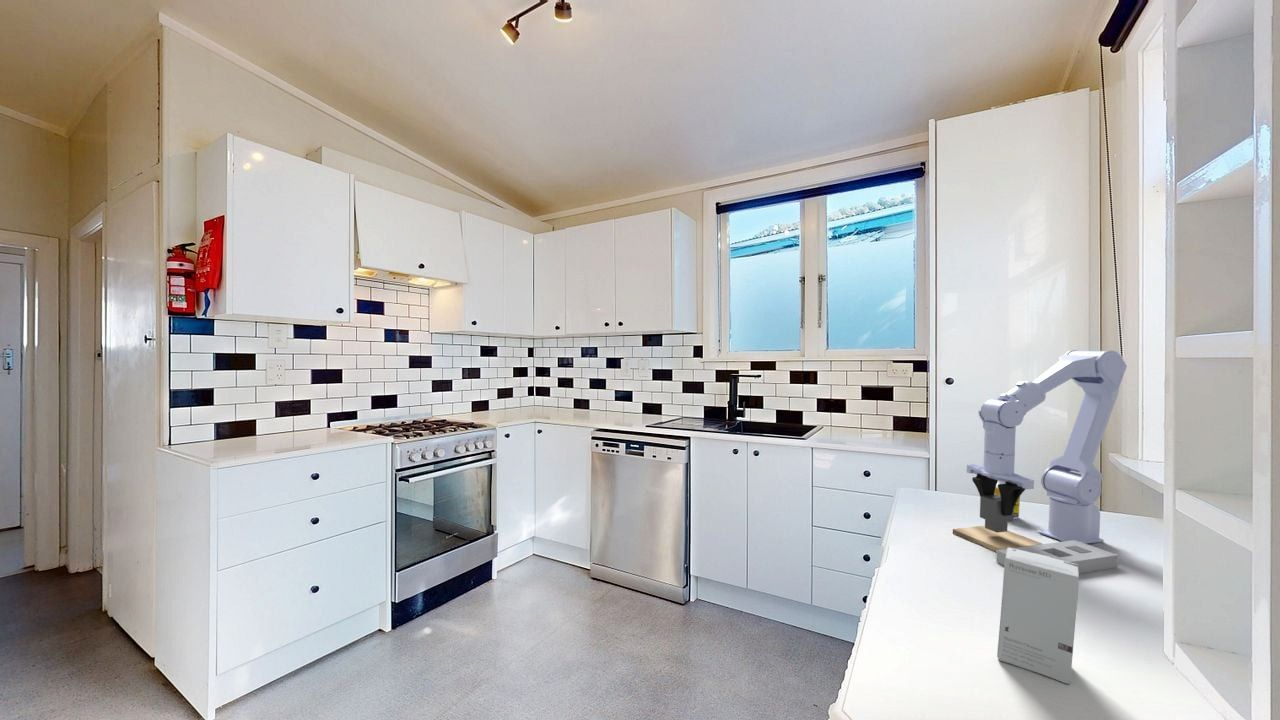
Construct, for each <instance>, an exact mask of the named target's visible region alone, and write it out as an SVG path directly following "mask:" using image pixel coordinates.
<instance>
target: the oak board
mask: <svg viewBox="0 0 1280 720" xmlns="http://www.w3.org/2000/svg"><path fill="white" fill-rule="evenodd" d="M952 534H954V535H955V534H956V536H958V537H961V538H963V539H965V540H967V541H970V542H972V543H974V544H977V545H980V546H981V545H982V547H985V548H986V547H987V548H986V549H989V550H991V551H994V552H996V553H997V550H1002V549H1007V548H1018V547H1025V546H1033V545H1041V544H1043V543H1042V542H1039V541H1038V540H1033V539H1031V538H1029V537H1026V536H1023V535H1020V534H1018V533H1016V532H1012V531H1009V530H1007V532H998V533H997V532H994V531H992V530H989V529H986V528H985V525H979V526H978V525H977V526H968V527H960V528H953V529H952Z"/></svg>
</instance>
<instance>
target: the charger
mask: <svg viewBox="0 0 1280 720" xmlns="http://www.w3.org/2000/svg"><path fill="white" fill-rule="evenodd" d="M979 497H980V499H979V518H981V519H982V520H983V519H984V526H985V528H986V529H989V530H992V531H994V532H997V533H998V532H1007V531H1008V526H1009V525H1008V523H1011V522H1014V519H1013V514H1014V509H1013V512H1012V515H1009V516H1004V515H1002V512H1001V496H1000V495H998V494H995V495H985V496H980V495H979Z"/></svg>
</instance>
